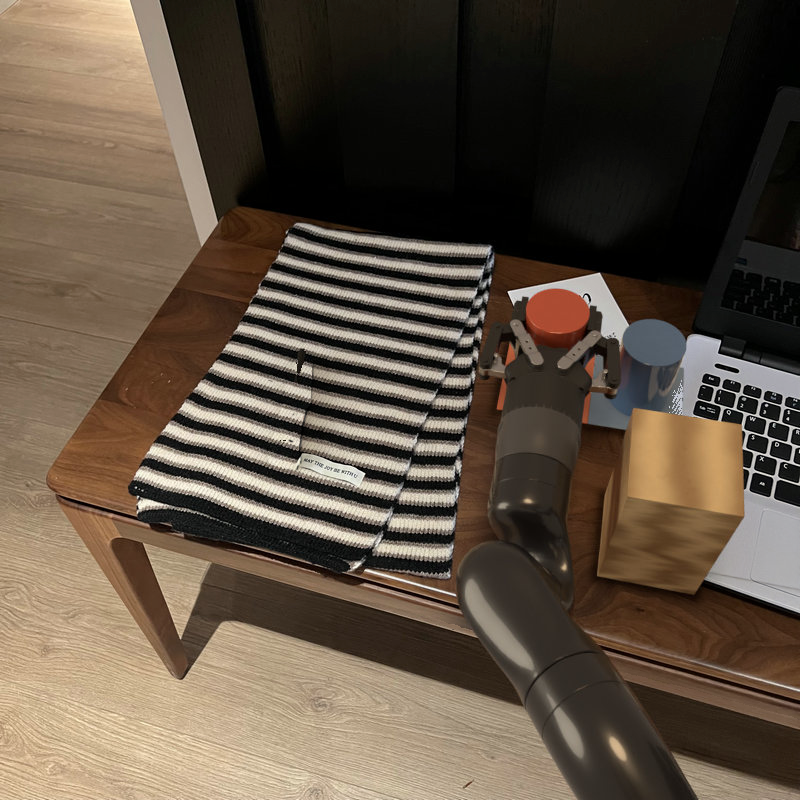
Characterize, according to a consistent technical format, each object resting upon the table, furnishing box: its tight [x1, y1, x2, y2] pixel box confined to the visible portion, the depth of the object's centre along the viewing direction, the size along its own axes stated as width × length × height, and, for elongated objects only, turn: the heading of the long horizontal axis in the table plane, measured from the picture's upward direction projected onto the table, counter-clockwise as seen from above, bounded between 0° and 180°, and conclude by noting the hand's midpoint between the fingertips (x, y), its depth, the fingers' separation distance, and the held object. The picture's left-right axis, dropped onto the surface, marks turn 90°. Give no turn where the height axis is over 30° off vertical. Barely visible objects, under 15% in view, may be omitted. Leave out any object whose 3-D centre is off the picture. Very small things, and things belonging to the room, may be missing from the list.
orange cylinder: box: [524, 287, 590, 351], centre depth 82 cm, size 6×6×9 cm
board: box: [496, 343, 685, 431], centre depth 88 cm, size 20×10×1 cm, turn 77°
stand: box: [596, 408, 746, 596], centre depth 70 cm, size 9×9×16 cm
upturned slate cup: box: [610, 318, 688, 416], centre depth 83 cm, size 6×6×9 cm
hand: (558, 306), depth 82 cm, fingers closed on orange cylinder, 6 cm apart
